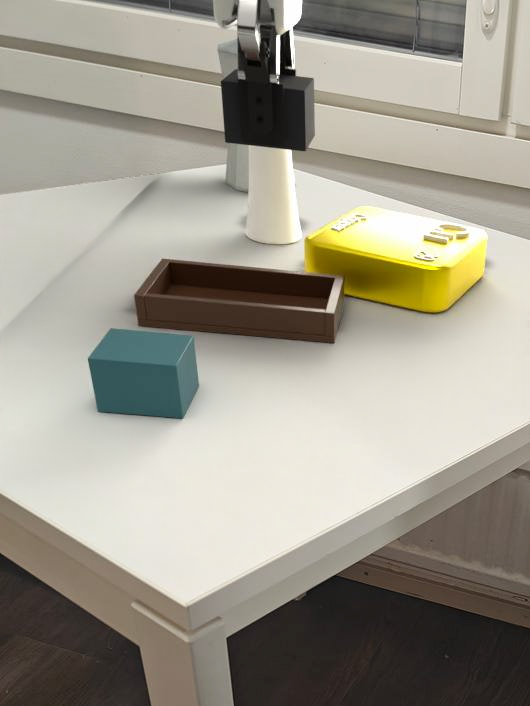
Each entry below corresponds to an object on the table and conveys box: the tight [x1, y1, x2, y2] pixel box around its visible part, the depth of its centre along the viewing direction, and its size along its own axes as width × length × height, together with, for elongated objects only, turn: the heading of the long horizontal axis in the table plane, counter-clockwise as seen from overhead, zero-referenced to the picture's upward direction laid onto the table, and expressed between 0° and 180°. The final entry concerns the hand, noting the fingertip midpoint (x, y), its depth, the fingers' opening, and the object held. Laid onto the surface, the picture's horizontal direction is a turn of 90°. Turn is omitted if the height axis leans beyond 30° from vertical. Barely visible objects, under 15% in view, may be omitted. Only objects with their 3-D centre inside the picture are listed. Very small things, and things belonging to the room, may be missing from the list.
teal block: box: [87, 327, 200, 419], centre depth 65 cm, size 6×6×4 cm
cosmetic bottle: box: [245, 145, 303, 245], centre depth 90 cm, size 6×6×22 cm
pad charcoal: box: [220, 69, 316, 152], centre depth 67 cm, size 6×6×4 cm
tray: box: [133, 257, 345, 344], centre depth 79 cm, size 17×10×3 cm, turn 91°
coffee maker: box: [216, 38, 297, 193], centre depth 106 cm, size 15×9×18 cm, turn 34°
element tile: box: [303, 205, 488, 314], centre depth 89 cm, size 15×15×5 cm
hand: (270, 131), depth 68 cm, fingers closed on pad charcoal, 5 cm apart
